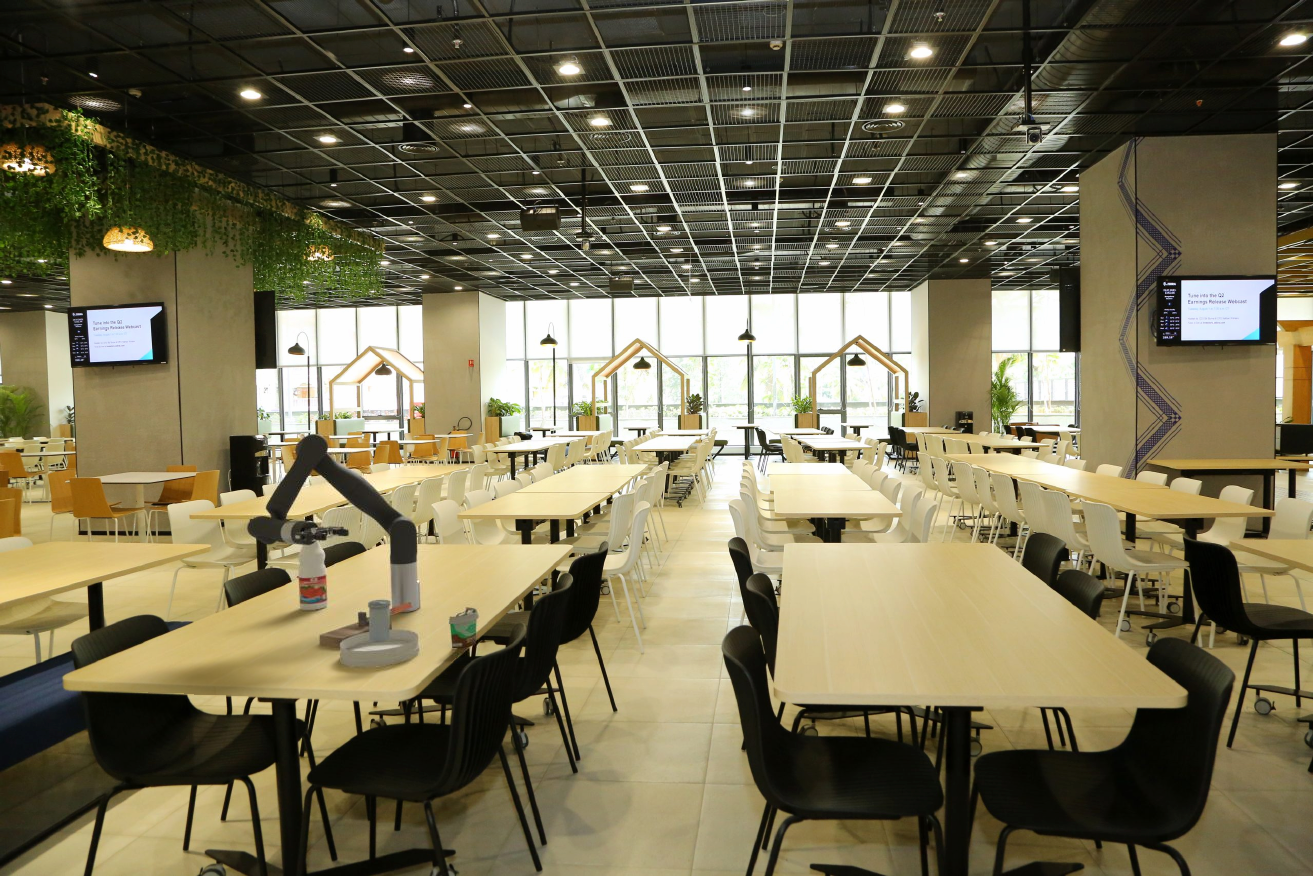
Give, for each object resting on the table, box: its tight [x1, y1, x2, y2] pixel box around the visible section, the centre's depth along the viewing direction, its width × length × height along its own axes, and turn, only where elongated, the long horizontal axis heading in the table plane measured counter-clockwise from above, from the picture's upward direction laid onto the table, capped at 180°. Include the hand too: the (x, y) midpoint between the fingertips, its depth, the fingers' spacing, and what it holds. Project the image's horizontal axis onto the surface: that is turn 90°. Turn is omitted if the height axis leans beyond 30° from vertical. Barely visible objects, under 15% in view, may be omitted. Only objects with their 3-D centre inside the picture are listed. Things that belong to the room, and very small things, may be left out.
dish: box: [339, 629, 420, 668], centre depth 234 cm, size 22×22×5 cm
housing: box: [319, 611, 393, 648], centre depth 253 cm, size 20×10×7 cm, turn 154°
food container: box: [448, 607, 480, 650], centre depth 242 cm, size 12×6×10 cm, turn 168°
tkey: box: [367, 602, 412, 624], centre depth 255 cm, size 7×2×16 cm
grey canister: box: [367, 599, 392, 642], centre depth 233 cm, size 6×6×11 cm
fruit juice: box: [297, 540, 328, 611], centre depth 293 cm, size 9×9×28 cm
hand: (336, 534), depth 245 cm, fingers open, 8 cm apart
